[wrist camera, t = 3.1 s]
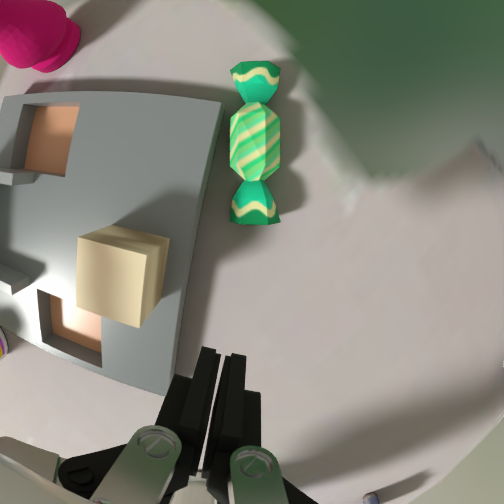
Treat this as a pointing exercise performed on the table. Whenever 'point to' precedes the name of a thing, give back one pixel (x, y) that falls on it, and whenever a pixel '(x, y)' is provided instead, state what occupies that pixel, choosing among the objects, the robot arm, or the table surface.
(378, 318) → the table surface
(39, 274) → the plate
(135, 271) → the block
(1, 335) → the supplement bottle
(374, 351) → the table surface
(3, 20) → the pepper mill
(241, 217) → the candy
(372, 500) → the flask
